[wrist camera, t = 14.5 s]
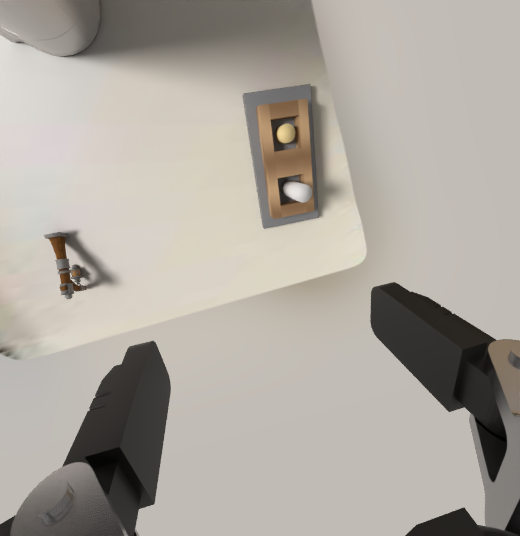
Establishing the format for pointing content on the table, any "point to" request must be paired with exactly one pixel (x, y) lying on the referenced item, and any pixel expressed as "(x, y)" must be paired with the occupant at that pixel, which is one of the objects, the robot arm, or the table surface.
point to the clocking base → (282, 141)
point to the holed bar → (286, 155)
